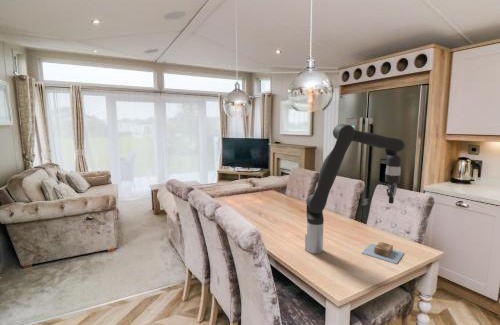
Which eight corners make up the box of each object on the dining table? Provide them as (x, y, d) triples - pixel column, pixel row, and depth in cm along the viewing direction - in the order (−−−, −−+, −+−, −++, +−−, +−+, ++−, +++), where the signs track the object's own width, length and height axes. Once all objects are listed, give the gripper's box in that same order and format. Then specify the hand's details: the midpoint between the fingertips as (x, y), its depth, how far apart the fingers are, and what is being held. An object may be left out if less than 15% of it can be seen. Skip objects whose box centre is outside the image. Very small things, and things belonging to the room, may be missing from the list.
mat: (361, 253, 150) (361, 252, 150) (371, 244, 162) (371, 243, 162) (396, 264, 138) (396, 263, 138) (404, 253, 150) (404, 252, 150)
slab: (374, 247, 149) (380, 241, 156) (374, 253, 149) (379, 247, 156) (388, 251, 144) (393, 245, 151) (387, 257, 144) (392, 250, 152)
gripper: (389, 171, 158) (387, 199, 161) (382, 174, 149) (380, 204, 151) (403, 172, 153) (401, 201, 156) (397, 176, 144) (395, 207, 146)
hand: (391, 203), depth 153 cm, fingers closed
